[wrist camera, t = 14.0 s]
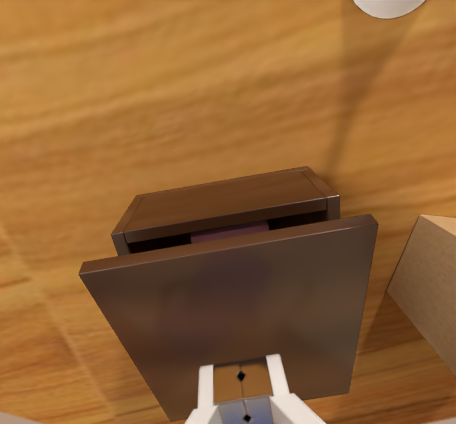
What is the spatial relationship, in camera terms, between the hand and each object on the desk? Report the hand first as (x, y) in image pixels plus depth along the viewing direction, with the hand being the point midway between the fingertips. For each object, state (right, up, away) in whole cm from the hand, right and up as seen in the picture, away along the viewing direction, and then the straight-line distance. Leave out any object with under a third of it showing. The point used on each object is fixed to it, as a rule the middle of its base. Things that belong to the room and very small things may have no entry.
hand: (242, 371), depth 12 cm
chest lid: (+1, -2, +8) cm, 8 cm away
